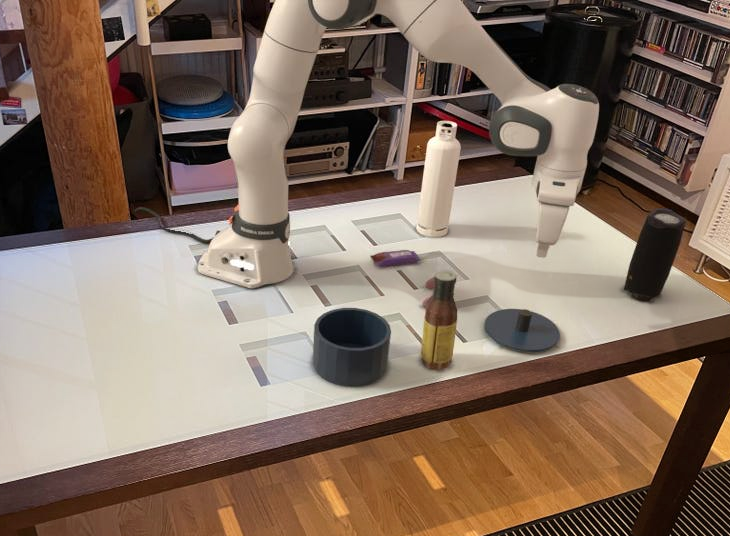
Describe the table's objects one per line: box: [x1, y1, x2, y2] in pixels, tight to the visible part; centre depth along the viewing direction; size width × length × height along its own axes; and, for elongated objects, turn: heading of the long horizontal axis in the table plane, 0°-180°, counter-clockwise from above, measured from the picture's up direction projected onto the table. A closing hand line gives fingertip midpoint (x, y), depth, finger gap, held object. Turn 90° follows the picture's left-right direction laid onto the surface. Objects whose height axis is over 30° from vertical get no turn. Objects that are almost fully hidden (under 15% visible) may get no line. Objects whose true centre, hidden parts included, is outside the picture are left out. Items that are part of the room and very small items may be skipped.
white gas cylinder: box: [415, 120, 462, 238], centre depth 191 cm, size 8×8×28 cm
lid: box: [483, 308, 561, 353], centre depth 160 cm, size 16×16×5 cm
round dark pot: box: [312, 307, 392, 388], centre depth 148 cm, size 15×15×8 cm
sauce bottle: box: [420, 269, 459, 370], centre depth 146 cm, size 7×6×20 cm
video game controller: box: [422, 276, 435, 309], centre depth 170 cm, size 10×5×7 cm, turn 168°
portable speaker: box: [623, 207, 687, 302], centre depth 170 cm, size 9×9×20 cm
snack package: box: [369, 249, 422, 268], centre depth 184 cm, size 12×2×5 cm
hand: (541, 244), depth 149 cm, fingers open, 8 cm apart
